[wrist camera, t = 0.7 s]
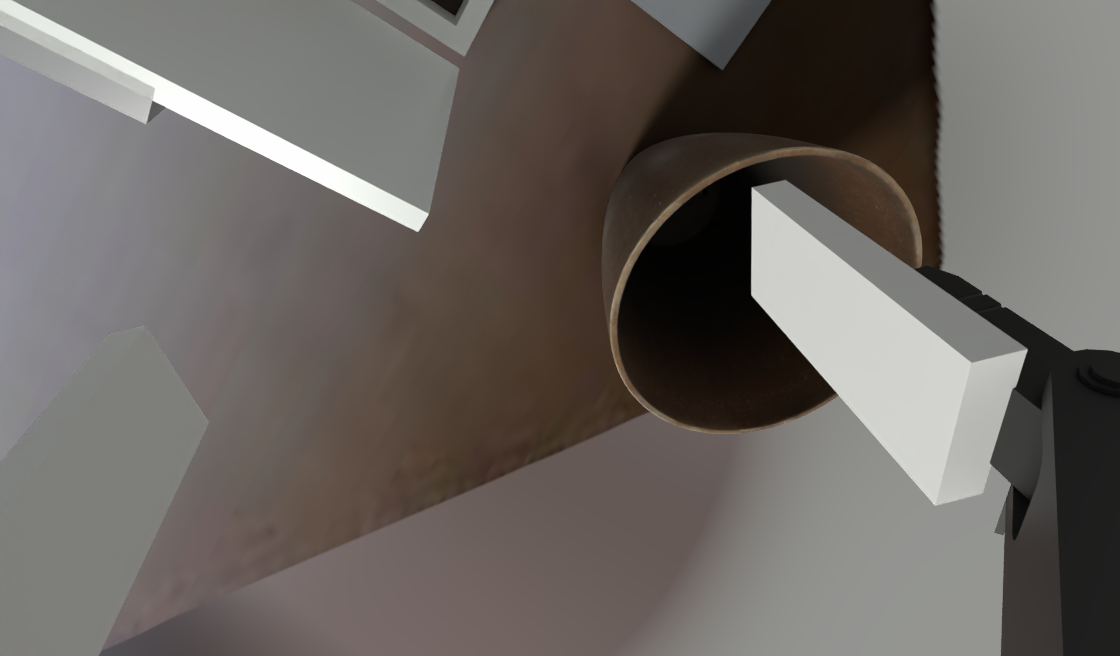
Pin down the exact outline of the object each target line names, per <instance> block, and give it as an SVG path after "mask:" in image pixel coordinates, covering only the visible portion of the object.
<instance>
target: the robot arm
mask: <svg viewBox="0 0 1120 656" xmlns="http://www.w3.org/2000/svg"><path fill="white" fill-rule="evenodd" d="M751 295H752V297H753V298H754V299H755V300H756V301H757V302H758V303H759V305H760V306H761V307H762V308H763V309H764V310H765V311H766V313H767V314H768V315H769V316H770V317H771V318H772V319H773V321H774V322H775V323H776V324H777V325H778V326H779V327H780V329H781V330H782V331H783V332H784V333H785V334H786V335H787V337H788V338H789V339H790V340H791V341H792V342H793V343H794V345H795V346H796V347H797V348H798V349H799V350H800V351H801V353H802V354H803V355H804V356H805V357H806V358H807V359H808V361H809V362H810V363H811V364H812V365H813V366H814V367H815V369H816V370H817V371H818V372H819V373H820V374H821V375H822V377H823V378H824V379H825V380H826V381H827V382H828V383H829V385H830V386H831V387H832V388H833V389H834V390H835V391H836V393H837V394H838V395H839V396H840V397H841V398H842V400H843V401H844V402H845V403H846V404H847V405H848V406H849V407H850V409H851V410H852V411H853V412H854V413H855V414H856V416H857V417H858V418H859V419H860V420H861V421H862V422H863V424H864V425H865V426H866V427H867V428H868V429H869V430H870V432H871V433H872V434H873V435H874V436H875V437H876V438H877V439H878V440H879V442H880V443H881V444H882V445H883V446H884V448H885V449H886V450H887V451H888V452H889V453H890V454H891V456H892V457H893V458H894V459H895V460H896V461H897V462H898V463H899V465H900V466H901V467H902V468H903V469H904V470H905V472H906V473H907V474H908V475H909V476H910V477H911V478H912V480H913V481H914V482H915V483H916V484H917V485H918V486H919V487H920V489H921V490H922V491H923V492H924V493H925V494H926V496H927V497H928V498H929V499H930V500H931V501H932V503H933V504H934V505H935V506H936V505H940V504H944V503H947V502H951V501H955V500H959V499H963V498H967V497H971V496H975V495H979V494H982V493H983V491H984V487H985V484H986V481H987V478H988V475H989V471H990V468H991V465H992V466H993V467H994V468H995V469H996V470H998V471H999V472H1000V473H1001V474H1002V475H1003V476H1004V477H1005V478H1006V479H1007V480H1008V481H1009V482H1010V483H1011V486H1010V489H1009V492H1008V495H1007V498H1006V501H1005V503H1004V506H1003V509H1002V512H1001V515H1000V518H999V521H998V524H997V527H996V530H995V533H998V534H1002V535H1003V534H1004V532H1005V543H1004V544H1005V545H1004V577H1003V608H1002V639H1001V656H1120V353H1118V352H1114V351H1108V350H1088V349H1085V350H1080V351H1073V350H1071V349H1069V348H1068V347H1066V346H1065V345H1063V344H1062V343H1060V342H1059V341H1057V340H1056V339H1054V338H1053V337H1051V336H1049V335H1048V334H1046V333H1045V332H1043V331H1042V330H1040V329H1039V328H1037V327H1036V326H1034V325H1033V324H1031V323H1030V322H1028V321H1026V320H1025V319H1023V318H1022V317H1020V316H1019V315H1017V314H1016V313H1014V312H1013V311H1011V310H1010V309H1008V308H1006V307H1005V308H1002V307H1001V304H1000V303H999V302H997V301H996V300H994V299H993V298H991V297H990V296H988V295H982V291H980V290H979V289H977V288H976V287H974V286H973V285H971V284H970V283H968V282H967V281H965V280H964V279H962V278H960V277H959V276H956V275H953V274H950V273H948V272H945V271H942V270H939V269H936V268H933V267H930V266H924V267H920V268H916V269H912V268H911V267H910V266H908V265H907V264H905V263H904V262H902V261H901V260H900V259H898V258H897V257H895V256H894V255H892V254H891V253H890V252H888V251H887V250H885V249H884V248H882V247H881V246H880V245H878V244H877V243H875V242H874V241H872V240H871V239H869V238H868V237H867V236H865V235H864V234H862V233H861V232H859V231H858V230H857V229H855V228H854V227H852V226H851V225H849V224H848V223H847V222H845V221H844V220H842V219H841V218H839V217H838V216H837V215H835V214H834V213H832V212H831V211H829V210H828V209H827V208H825V207H824V206H822V205H821V204H819V203H818V202H817V201H815V200H814V199H812V198H811V197H809V196H808V195H806V194H805V193H804V192H802V191H801V190H799V189H798V188H796V187H795V186H794V185H792V184H791V183H789V182H788V181H786V180H783V181H778V182H774V183H770V184H765V185H761V186H756V187H752V256H751ZM208 424H209V422H208V420H207V419H206V417H205V416H204V414H203V413H202V411H201V409H200V408H199V406H198V405H197V403H196V402H195V400H194V399H193V397H192V396H191V394H190V393H189V391H188V389H187V388H186V386H185V385H184V383H183V382H182V380H181V379H180V377H179V376H178V374H177V373H176V371H175V370H174V368H173V366H172V365H171V363H170V362H169V360H168V359H167V357H166V356H165V354H164V353H163V351H162V350H161V348H160V346H159V345H158V343H157V342H156V340H155V339H154V337H153V336H152V334H151V333H150V331H149V330H148V328H147V327H146V325H144V326H140V327H135V328H131V329H127V330H122V331H118V332H113V333H109V334H108V335H107V336H106V337H105V338H104V340H103V341H102V342H101V343H100V344H99V346H98V347H97V348H96V349H95V350H94V352H93V353H92V354H91V355H90V356H89V358H88V359H87V360H86V361H85V362H84V363H83V365H82V366H81V367H80V368H79V369H78V371H77V372H76V373H75V374H74V375H73V377H72V378H71V379H70V380H69V381H68V383H67V384H66V385H65V386H64V387H63V389H62V390H61V391H60V392H59V393H58V395H57V396H56V397H55V398H54V399H53V401H52V402H51V403H50V404H49V405H48V407H47V408H46V409H45V410H44V411H43V413H42V414H41V415H40V416H39V417H38V419H37V420H36V421H35V422H34V423H33V424H32V426H31V427H30V428H29V429H28V430H27V432H26V433H25V434H24V435H23V436H22V438H21V439H20V440H19V441H18V442H17V444H16V445H15V446H14V447H13V448H12V450H11V451H10V452H9V453H8V454H7V456H6V457H5V458H4V459H3V460H2V462H1V463H0V656H99V654H100V652H101V650H102V648H103V645H104V643H105V641H106V639H107V637H108V635H109V633H110V631H111V629H112V626H113V624H114V622H115V620H116V618H117V616H118V614H119V612H120V610H121V608H122V605H123V603H124V601H125V599H126V597H127V595H128V593H129V591H130V589H131V586H132V584H133V582H134V580H135V578H136V576H137V574H138V572H139V570H140V567H141V565H142V563H143V561H144V559H145V557H146V555H147V553H148V551H149V549H150V546H151V544H152V542H153V540H154V538H155V536H156V534H157V532H158V530H159V527H160V525H161V523H162V521H163V519H164V517H165V515H166V513H167V511H168V508H169V506H170V504H171V502H172V500H173V498H174V496H175V494H176V492H177V490H178V487H179V485H180V483H181V481H182V479H183V477H184V475H185V473H186V471H187V468H188V466H189V464H190V462H191V460H192V458H193V456H194V454H195V452H196V450H197V447H198V445H199V443H200V441H201V439H202V437H203V435H204V433H205V431H206V428H207V426H208Z"/></svg>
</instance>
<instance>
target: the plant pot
mask: <svg viewBox="0 0 1120 656" xmlns="http://www.w3.org/2000/svg"><path fill="white" fill-rule="evenodd" d="M783 180H786V181H788V182H789V183H791V184H792V185H794V186H795V187H796V188H798V189H799V190H801V191H802V192H804V193H805V194H806V195H808V196H809V197H811V198H812V199H814V200H815V201H817V202H818V203H819V204H821V205H822V206H824V207H825V208H827V209H828V210H829V211H831V212H832V213H834V214H835V215H837V216H838V217H839V218H841V219H842V220H844V221H845V222H847V223H848V224H849V225H851V226H852V227H854V228H855V229H857V230H858V231H859V232H861V233H862V234H864V235H865V236H867V237H868V238H869V239H871V240H872V241H874V242H875V243H877V244H878V245H880V246H881V247H882V248H884V249H885V250H887V251H888V252H890V253H891V254H892V255H894V256H895V257H897V258H898V259H900V260H901V261H902V262H904V263H905V264H907V265H908V266H910V267H911V268H912V269H916V268H920V267H921V264H922V241H921V234H920V228H919V224H918V221H917V217H916V214H915V212H914V209H913V206H912V205H911V203H910V201H909V199H908V197H907V196H906V194H905V193H904V191H903V190H902V189H901V187H900V186H899V185H898V184H897V183H896V181H895V180H894V179H893V178H892V177H891V176H890V175H888V174H887V173H886V172H885V171H884V170H882V169H881V168H880V167H878V166H877V165H875V164H873V163H872V162H870V161H868V160H866V159H864V158H862V157H859V156H857V155H854V154H851V153H848V152H845V151H841V150H838V149H834V148H829V147H825V146H821V145H817V144H812V143H808V142H803V141H798V140H793V139H788V138H783V137H776V136H769V135H760V134H750V133H702V134H692V135H686V136H680V137H676V138H672V139H668V140H665V141H662V142H660V143H657V144H654V145H652V146H650V147H648V148H646V149H645V150H643V151H641V152H640V153H638V154H637V155H636V156H635V157H634V158H632V159H631V161H630V162H629V163H628V164H627V165H626V166H625V168H624V169H623V171H622V172H621V174H620V176H619V177H618V179H617V181H616V184H615V186H614V188H613V191H612V193H611V196H610V200H609V203H608V207H607V211H606V216H605V222H604V230H603V240H602V286H603V297H604V305H605V312H606V319H607V326H608V332H609V337H610V343H611V348H612V353H613V357H614V361H615V364H616V366H617V369H618V372H619V374H620V376H621V378H622V380H623V381H624V383H625V385H626V386H627V388H628V389H629V391H630V392H631V394H632V395H633V396H634V397H635V398H636V399H637V400H638V401H639V402H640V403H641V404H642V405H643V406H644V407H645V408H646V409H648V410H649V411H650V412H652V413H653V414H655V415H656V416H658V417H659V418H661V419H663V420H665V421H668V422H670V423H672V424H674V425H677V426H680V427H683V428H686V429H690V430H694V431H699V432H706V433H714V434H734V433H745V432H751V431H758V430H763V429H767V428H771V427H774V426H778V425H781V424H784V423H787V422H790V421H792V420H795V419H797V418H800V417H802V416H804V415H806V414H808V413H810V412H812V411H814V410H816V409H818V408H819V407H821V406H823V405H825V404H826V403H828V402H829V401H831V400H833V399H834V398H836V397H837V396H838V394H837V393H836V391H835V390H834V389H833V388H832V387H831V386H830V385H829V383H828V382H827V381H826V380H825V379H824V378H823V377H822V375H821V374H820V373H819V372H818V371H817V370H816V369H815V367H814V366H813V365H812V364H811V363H810V362H809V361H808V359H807V358H806V357H805V356H804V355H803V354H802V353H801V351H800V350H799V349H798V348H797V347H796V346H795V345H794V343H793V342H792V341H791V340H790V339H789V338H788V337H787V335H786V334H785V333H784V332H783V331H782V330H781V329H780V327H779V326H778V325H777V324H776V323H775V322H774V321H773V319H772V318H771V317H770V316H769V315H768V314H767V313H766V311H765V310H764V309H763V308H762V307H761V306H760V305H759V303H758V302H757V301H756V300H755V299H754V298H753V297H752V295H751V256H752V187H756V186H761V185H765V184H770V183H774V182H778V181H783ZM702 189H706V190H707V194H706V195H702V193H703V190H702Z"/></svg>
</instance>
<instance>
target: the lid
mask: <svg viewBox="0 0 1120 656" xmlns="http://www.w3.org/2000/svg"><path fill="white" fill-rule="evenodd" d="M0 54H1V55H3V56H5V57H7V58H9V59H11V60H13V61H15V62H18V63H20V64H22V65H24V66H26V67H28V68H30V69H32V70H34V71H36V72H38V73H40V74H43V75H45V76H47V77H49V78H51V79H53V80H55V81H57V82H59V83H61V84H63V85H65V86H68V87H70V88H72V89H74V90H76V91H78V92H80V93H82V94H84V95H86V96H88V97H91V98H93V99H95V100H97V101H99V102H101V103H103V104H105V105H107V106H109V107H111V108H113V109H116V110H118V111H120V112H122V113H124V114H126V115H128V116H130V117H132V118H134V119H136V120H138V121H141V122H143V123H145V124H147V123H148V122H149V121H151V120H152V119H153V118H154V117H155V116H156V115H157V114H159V113H160V112H161V111H162V110H163V109H164V108H165V107H167V108H169V109H171V110H173V111H175V112H177V113H179V114H181V115H183V116H185V117H187V118H189V119H191V120H193V121H195V122H197V123H199V124H201V125H203V126H205V127H207V128H209V129H211V130H213V131H215V132H217V133H219V134H221V135H223V136H225V137H227V138H229V139H231V140H233V141H235V142H237V143H239V144H241V145H243V146H245V147H247V148H249V149H251V150H253V151H255V152H257V153H259V154H261V155H263V156H265V157H267V158H269V159H272V160H274V161H276V162H278V163H280V164H282V165H284V166H286V167H288V168H290V169H292V170H294V171H296V172H298V173H300V174H302V175H304V176H306V177H308V178H310V179H312V180H314V181H316V182H318V183H320V184H322V185H324V186H326V187H328V188H330V189H332V190H334V191H336V192H338V193H340V194H342V195H344V196H346V197H348V198H350V199H352V200H354V201H356V202H358V203H360V204H362V205H364V206H366V207H368V208H370V209H372V210H375V211H377V212H379V213H381V214H383V215H385V216H387V217H389V218H391V219H393V220H395V221H397V222H399V223H401V224H403V225H405V226H407V227H409V228H411V229H413V230H415V231H417V232H418V231H419V230H420V228H421V226H422V225H423V223H424V221H425V220H426V218H427V216H428V215H429V211H430V206H431V202H432V197H433V192H434V187H435V183H436V178H437V173H438V168H439V164H440V159H441V154H442V149H443V145H444V140H445V135H446V130H447V125H448V121H449V116H450V111H451V106H452V102H453V97H454V92H455V87H456V83H457V78H458V73H459V68H458V67H456V66H455V65H453V64H451V63H450V62H448V61H447V60H445V59H443V58H442V57H440V56H439V55H437V54H435V53H434V52H432V51H431V50H429V49H427V48H426V47H424V46H423V45H421V44H420V43H418V42H416V41H415V40H413V39H412V38H410V37H408V36H407V35H405V34H404V33H402V32H400V31H399V30H397V29H396V28H394V27H392V26H391V25H389V24H388V23H386V22H384V21H383V20H381V19H380V18H378V17H376V16H375V15H373V14H372V13H370V12H368V11H367V10H365V9H364V8H362V7H361V6H359V5H357V4H356V3H354V2H353V1H351V0H0Z"/></svg>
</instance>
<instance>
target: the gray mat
mask: <svg viewBox="0 0 1120 656" xmlns="http://www.w3.org/2000/svg"><path fill="white" fill-rule="evenodd" d="M631 1H632V2H634V3H635V4H636V5H637V6H639V7H640V8H641V9H643V10H644V11H645V12H647V13H648V14H649V15H650V16H652V17H653V18H654V19H656V20H657V21H658V22H660V23H661V24H662V25H663V26H665V27H666V28H667V29H669V30H670V31H671V32H673V33H674V34H675V35H676V36H678V37H679V38H680V39H682V40H683V41H684V42H685V43H687V44H688V45H689V46H691V47H692V48H693V49H695V50H696V51H697V52H698V53H700V54H701V55H702V56H704V57H705V58H706V59H708V60H709V61H710V62H711V63H713V64H714V65H715V66H717V67H718V68H719V69H721V70H723V69H724V68H725V66H726V65H727V63H728V62H729V60H730V59H731V57H732V56H733V55H734V53H735V52H736V50H737V49H738V47H739V46H740V45H741V43H742V42H743V40H744V39H745V37H746V36H747V35H748V33H749V32H750V30H751V29H752V27H753V26H754V25H755V23H756V22H757V20H758V19H759V17H760V16H761V14H762V13H763V12H764V10H765V9H766V7H767V6H768V4H769V3H770V2H771V0H631Z"/></svg>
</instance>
